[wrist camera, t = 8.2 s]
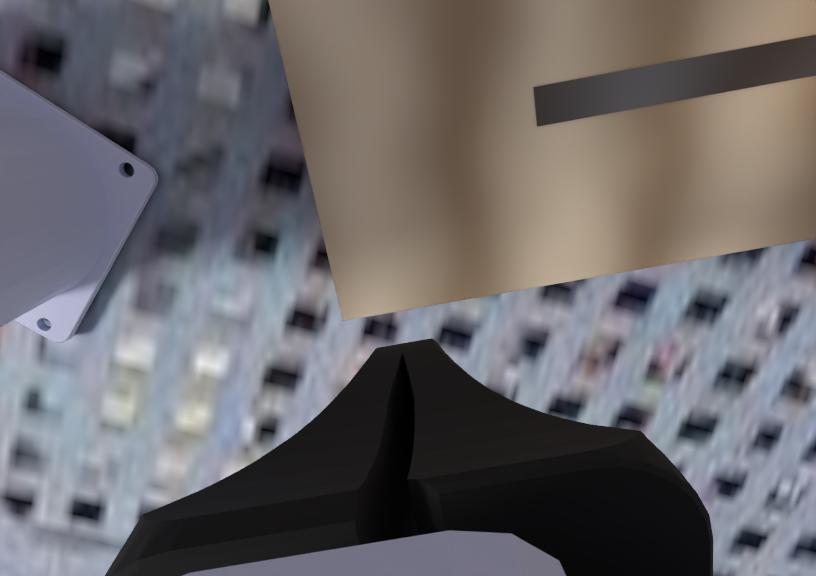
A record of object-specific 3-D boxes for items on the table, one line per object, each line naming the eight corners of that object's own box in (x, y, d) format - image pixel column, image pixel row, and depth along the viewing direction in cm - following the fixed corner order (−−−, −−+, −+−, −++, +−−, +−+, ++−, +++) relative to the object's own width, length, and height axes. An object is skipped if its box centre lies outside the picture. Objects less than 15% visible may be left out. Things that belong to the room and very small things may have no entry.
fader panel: (347, 301, 21) (342, 321, 19) (269, -45, 17) (253, -65, 15) (916, 201, 20) (972, 211, 18) (966, -182, 16) (1042, -220, 15)
